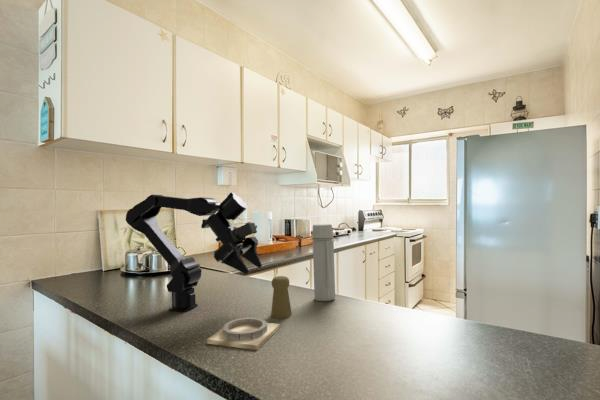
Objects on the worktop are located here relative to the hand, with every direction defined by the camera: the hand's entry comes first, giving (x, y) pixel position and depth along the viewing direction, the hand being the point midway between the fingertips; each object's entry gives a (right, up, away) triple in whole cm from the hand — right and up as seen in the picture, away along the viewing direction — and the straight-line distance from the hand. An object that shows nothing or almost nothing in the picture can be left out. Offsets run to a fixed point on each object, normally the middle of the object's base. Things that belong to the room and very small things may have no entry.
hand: (254, 269), depth 93 cm
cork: (+8, -13, -2) cm, 15 cm away
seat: (0, -12, -17) cm, 21 cm away
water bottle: (+22, -13, +11) cm, 28 cm away
